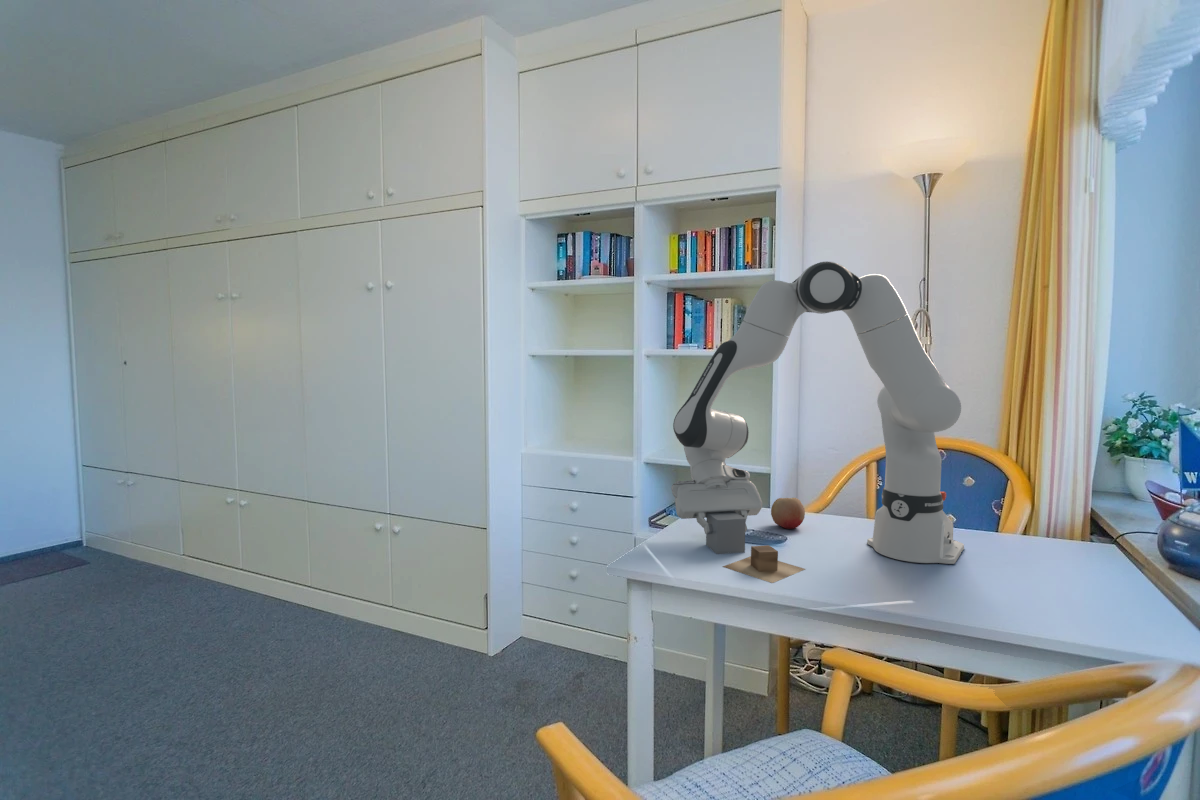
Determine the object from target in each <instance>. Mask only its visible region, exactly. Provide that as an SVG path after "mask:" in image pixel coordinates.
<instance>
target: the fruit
mask: <svg viewBox="0 0 1200 800" xmlns="http://www.w3.org/2000/svg"><path fill="white" fill-rule="evenodd" d="M770 509H771V510H770V515H771V518H772V520H773V522H774V524H775V525H776V526H780V527H782V528H783V529H787V530H792V529H793V530H794V529H796V528H798V527H799V526H801V524H803V521H804V520H805V515H806V511H805V507H804V505H803V503H802V501H801V500H800V499H798V498H797V497H780V498H777V499H775V500H774V501H773V503H772V505H771V508H770Z"/></svg>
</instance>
